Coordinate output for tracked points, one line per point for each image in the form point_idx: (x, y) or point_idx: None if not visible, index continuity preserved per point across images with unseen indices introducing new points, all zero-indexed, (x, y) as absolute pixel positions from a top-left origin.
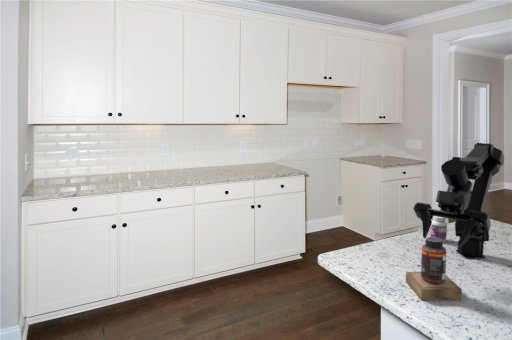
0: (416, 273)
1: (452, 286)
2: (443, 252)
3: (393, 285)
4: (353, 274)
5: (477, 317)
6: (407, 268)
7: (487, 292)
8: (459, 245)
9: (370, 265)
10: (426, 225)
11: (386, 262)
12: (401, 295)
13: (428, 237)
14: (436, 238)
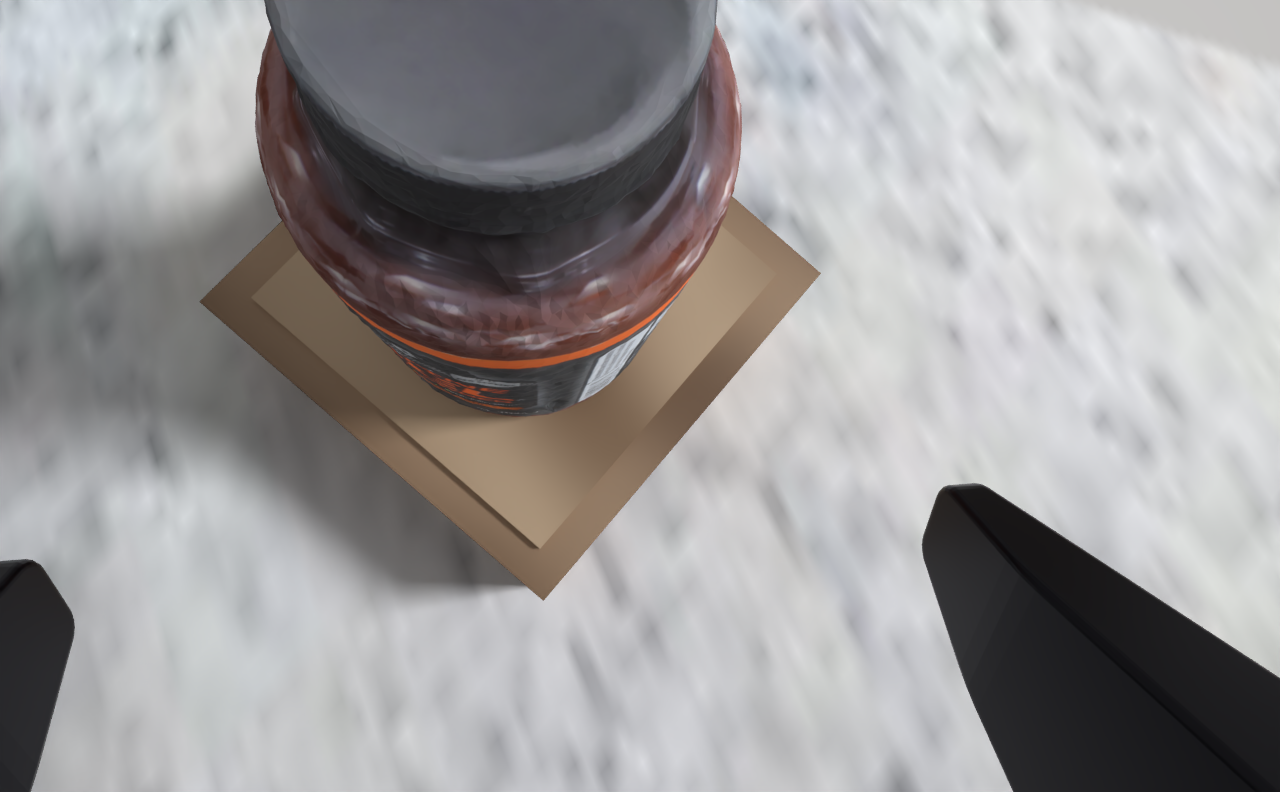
0: (719, 305)
1: (293, 281)
2: (268, 36)
3: (818, 149)
4: (1176, 82)
5: (41, 128)
6: (939, 623)
7: (99, 717)
8: (46, 584)
9: (1213, 384)
10: (1220, 746)
11: (1165, 590)
12: None
13: (684, 14)
14: (475, 72)
